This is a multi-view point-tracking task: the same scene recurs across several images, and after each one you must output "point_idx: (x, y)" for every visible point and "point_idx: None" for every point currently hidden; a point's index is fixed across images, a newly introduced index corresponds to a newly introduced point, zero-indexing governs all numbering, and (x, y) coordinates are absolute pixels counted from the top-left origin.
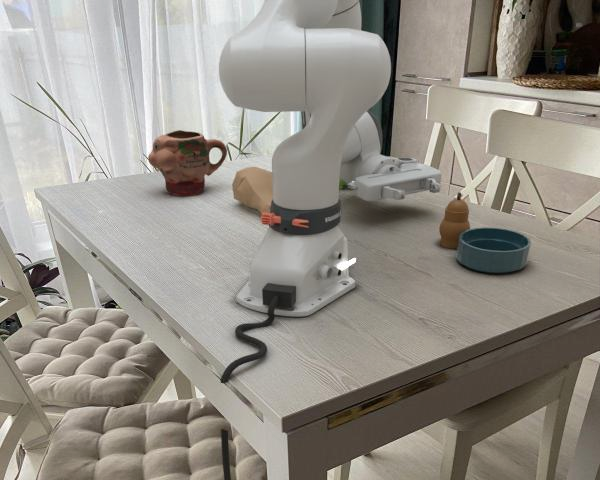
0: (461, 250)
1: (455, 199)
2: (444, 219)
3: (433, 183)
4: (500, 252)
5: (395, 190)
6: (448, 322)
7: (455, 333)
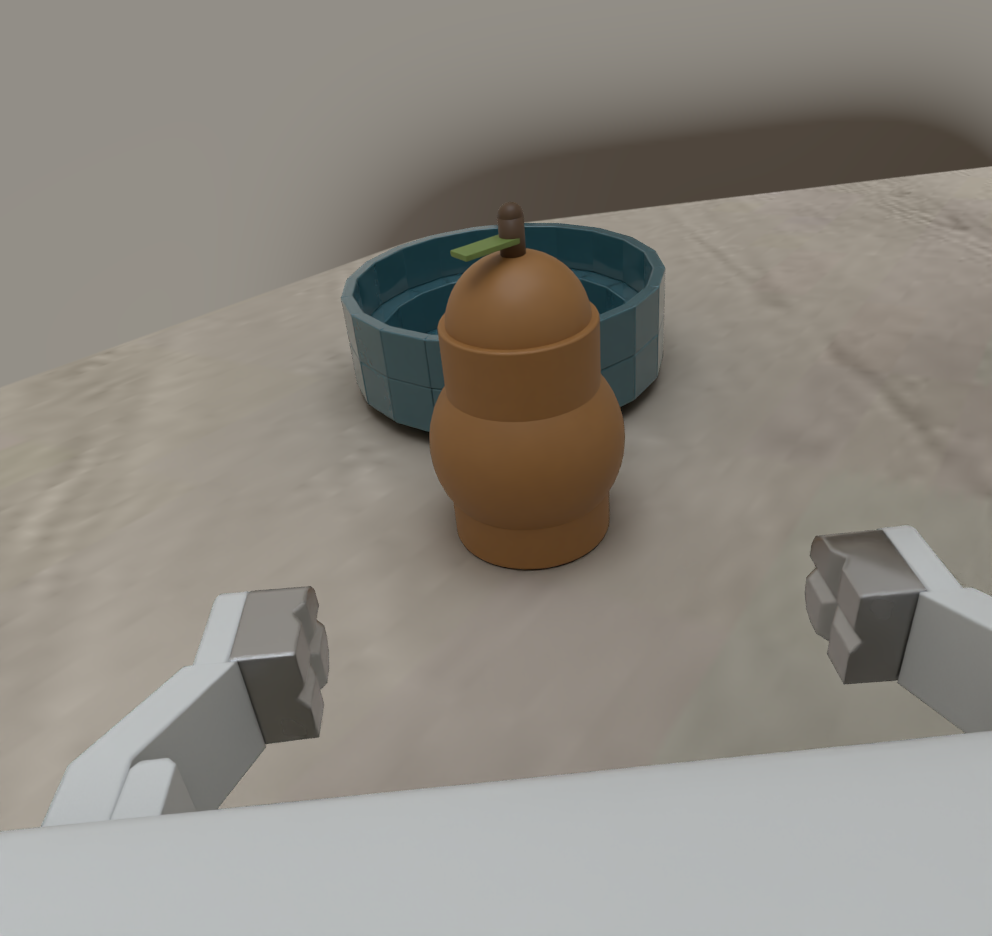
0: (663, 308)
1: (528, 260)
2: (596, 392)
3: (266, 633)
4: (572, 227)
5: (950, 575)
6: (883, 217)
7: (883, 198)
